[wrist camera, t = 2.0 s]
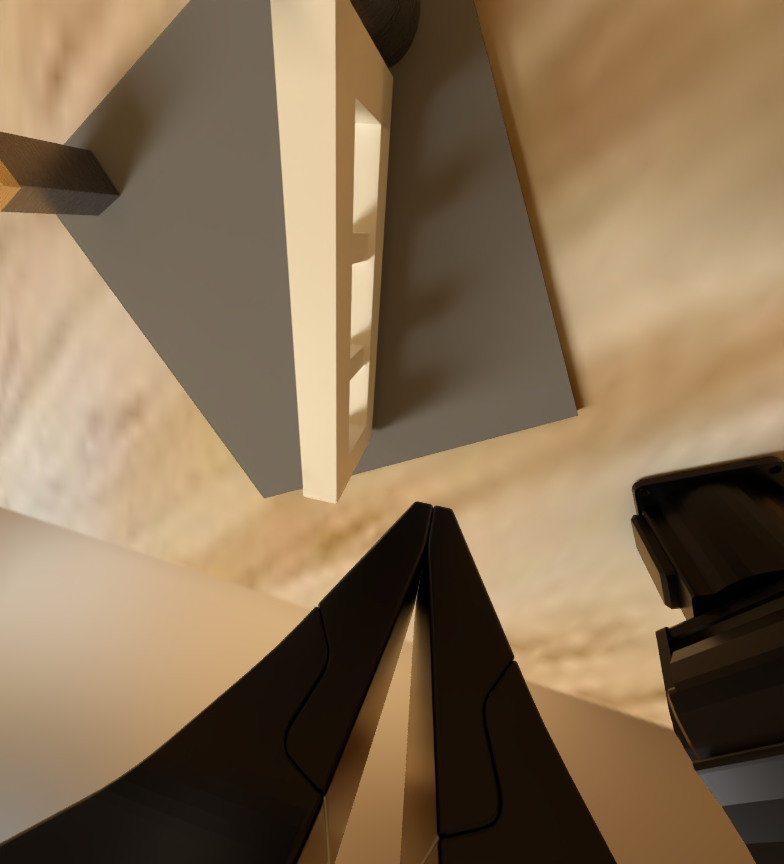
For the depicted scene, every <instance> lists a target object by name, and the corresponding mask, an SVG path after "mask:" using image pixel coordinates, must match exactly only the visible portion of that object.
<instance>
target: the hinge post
mask: <svg viewBox="0 0 784 864" xmlns="http://www.w3.org/2000/svg"><path fill="white" fill-rule="evenodd" d="M350 2H351V4H352V5H353V7H354V9H355V11H356V13H357V14H358V16H359V18H360V20H361V21H362V23H363V25H364V27H365V28H366V30H367V32H368V34H369V36H370V37H371V39H372V41H373V43H374V44H375V46H376V48H377V50H378V51H379V53H380V55H381V57H382V59H383V60H384V62H385V64H386V66H387V67H388V68H391V67H392V66H394V65H395V64H397V63H398V62H399V61H400V60H401V59H402V58H403V57H404V56H405V54H406V53H407V51H408V50H409V48H410V46H411V44H412V42H413V40H414V37H415V35H416V31H417V28H418V23H419V17H420V0H350Z"/></svg>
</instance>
